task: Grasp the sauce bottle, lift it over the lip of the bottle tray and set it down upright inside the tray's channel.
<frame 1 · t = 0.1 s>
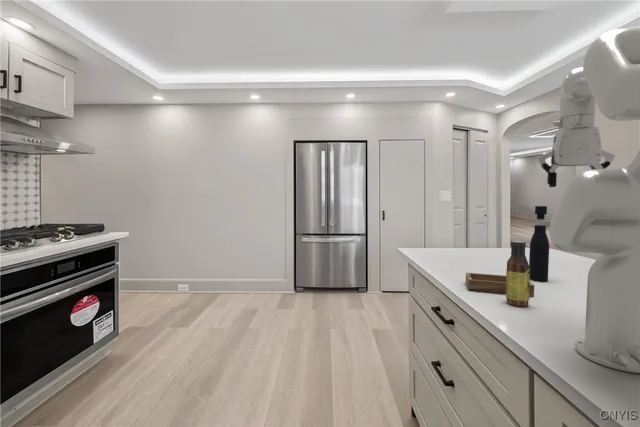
hand: (573, 186, 86), 37 cm above the worktop, tool pointing down, fingers open, 9 cm apart
sauce bottle: (516, 304, 99), on the worktop
wine bottle: (538, 280, 126), on the worktop
bottle tray: (497, 289, 114), on the worktop
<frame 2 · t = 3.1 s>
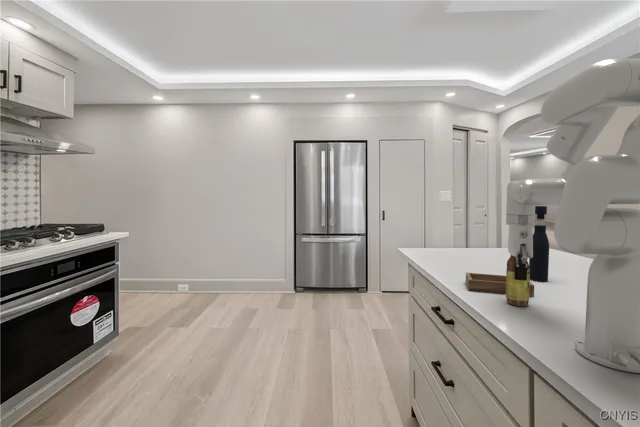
hand: (517, 276, 98), 9 cm above the worktop, tool pointing down, fingers closed on sauce bottle, 6 cm apart
sauce bottle: (516, 304, 99), on the worktop, touching gripper
everything else where it was.
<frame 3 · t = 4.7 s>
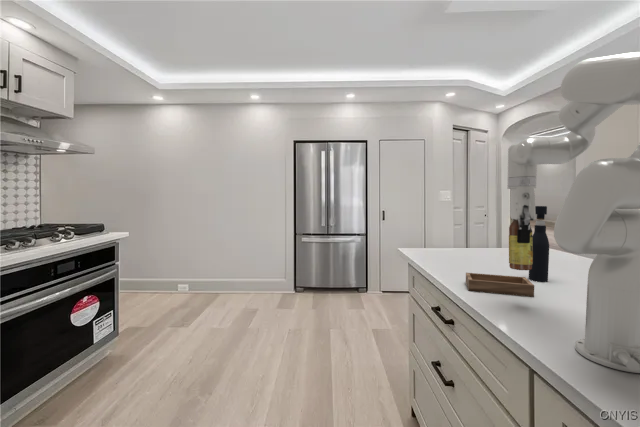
hand: (520, 241, 97), 20 cm above the worktop, tool pointing down, fingers closed on sauce bottle, 6 cm apart
sauce bottle: (520, 269, 97), point 11 cm above the worktop, touching gripper
everything else where it was.
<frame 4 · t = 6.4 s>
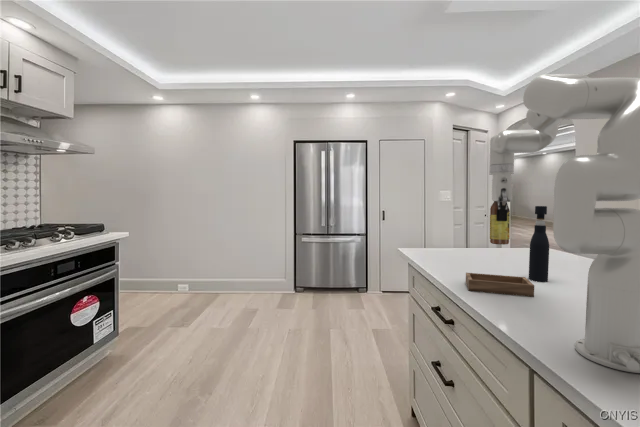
hand: (499, 219, 112), 25 cm above the worktop, tool pointing down, fingers closed on sauce bottle, 6 cm apart
sauce bottle: (499, 244, 112), point 17 cm above the worktop, touching gripper
everything else where it was.
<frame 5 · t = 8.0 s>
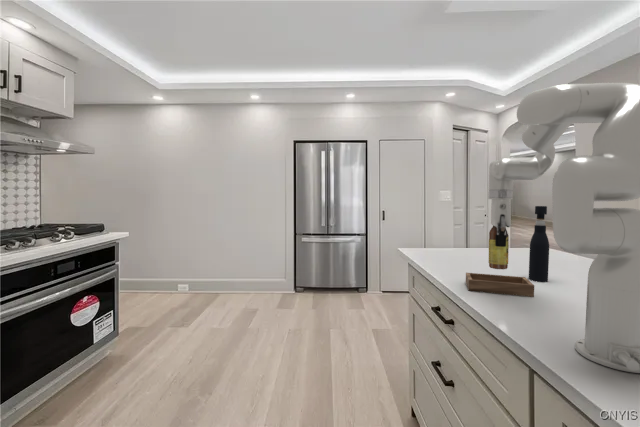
hand: (498, 244, 113), 17 cm above the worktop, tool pointing down, fingers closed on sauce bottle, 6 cm apart
sauce bottle: (497, 268, 113), point 8 cm above the worktop, touching gripper
everything else where it was.
when the fingers open (11 cm above the worktop, at t = 9.5 s): sauce bottle drops 2 cm, resting on bottle tray.
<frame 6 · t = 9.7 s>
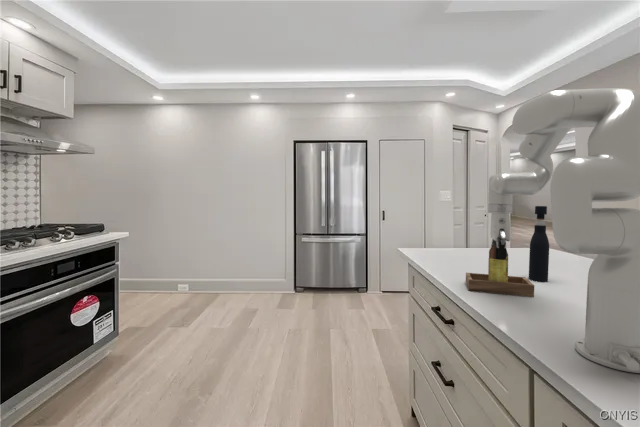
hand: (498, 257, 113), 12 cm above the worktop, tool pointing down, fingers open, 8 cm apart
sauce bottle: (497, 287, 113), point 1 cm above the worktop, touching bottle tray
everything else where it was.
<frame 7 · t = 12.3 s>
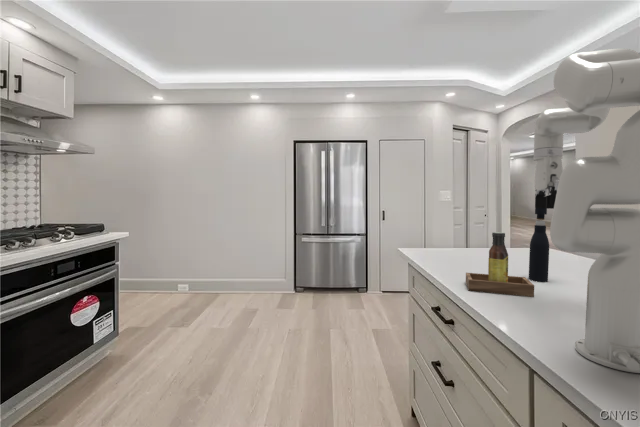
hand: (546, 208, 100), 30 cm above the worktop, tool pointing down, fingers open, 9 cm apart
nothing on the worktop moved.
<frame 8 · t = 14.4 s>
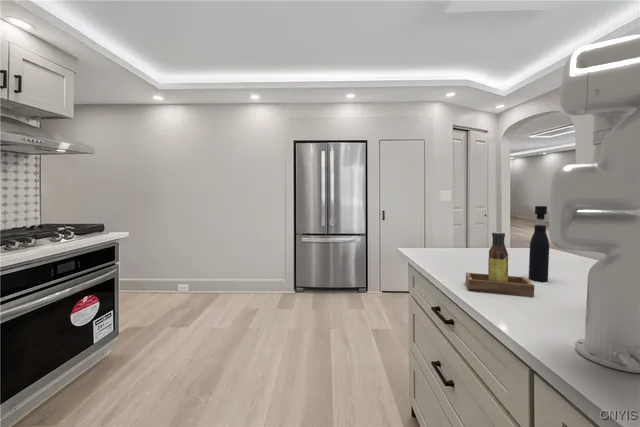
hand: (607, 198, 89), 33 cm above the worktop, tool pointing down, fingers open, 9 cm apart
nothing on the worktop moved.
at the end: sauce bottle inside the target area on the bottle tray (0.3 cm from its centre), point 0.8 cm above the bottle tray's base; sauce bottle tilted 0°; the gripper is holding nothing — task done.
